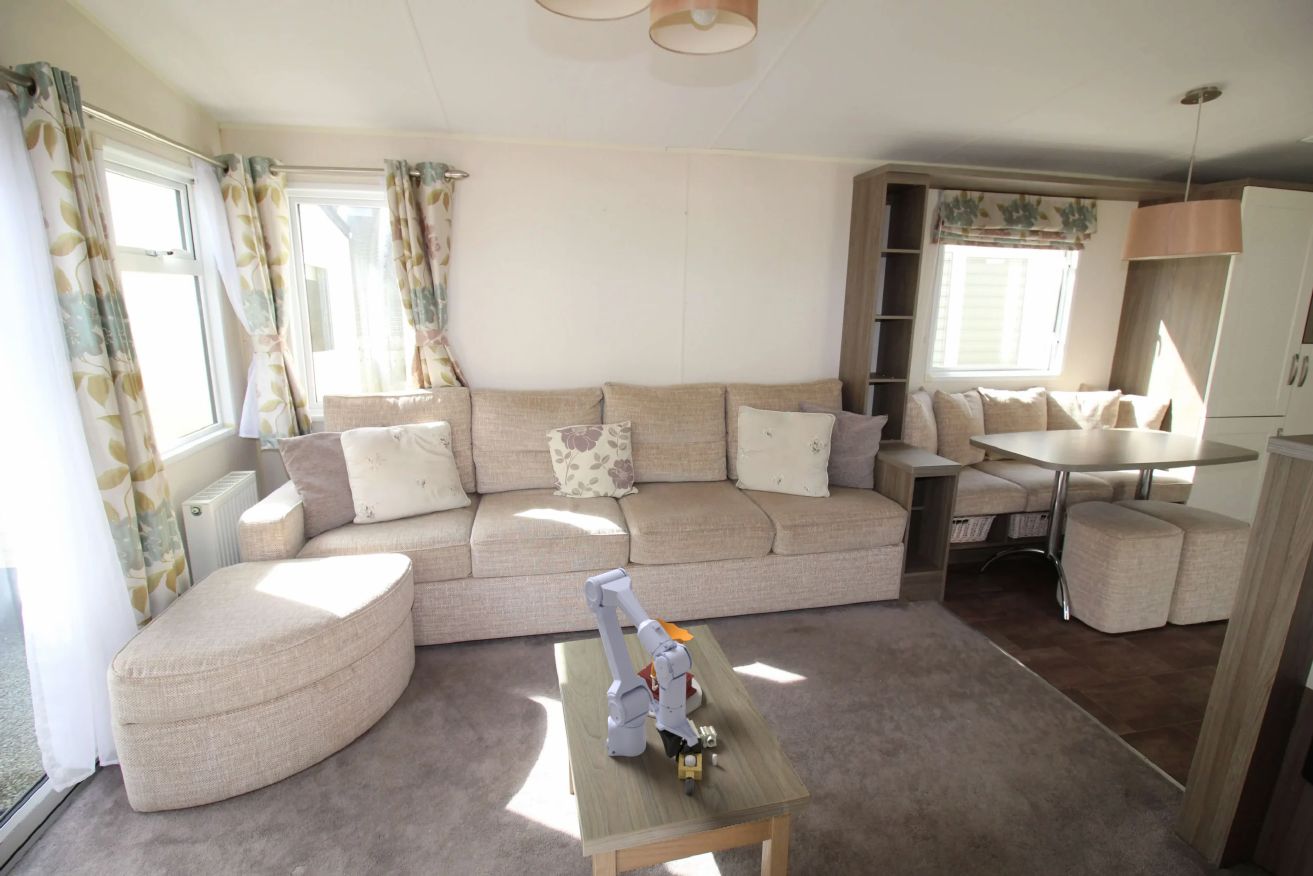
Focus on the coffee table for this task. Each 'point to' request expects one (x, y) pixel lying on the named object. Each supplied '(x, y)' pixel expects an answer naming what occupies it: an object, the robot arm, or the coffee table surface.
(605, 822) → the coffee table surface
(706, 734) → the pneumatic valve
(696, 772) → the square nut with handle
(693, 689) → the gramophone
